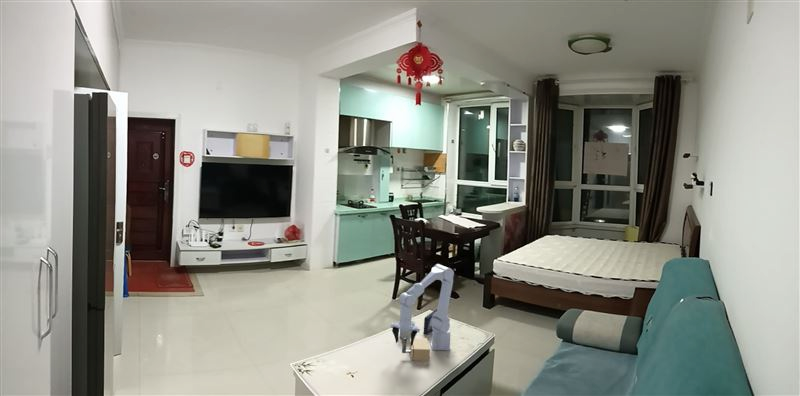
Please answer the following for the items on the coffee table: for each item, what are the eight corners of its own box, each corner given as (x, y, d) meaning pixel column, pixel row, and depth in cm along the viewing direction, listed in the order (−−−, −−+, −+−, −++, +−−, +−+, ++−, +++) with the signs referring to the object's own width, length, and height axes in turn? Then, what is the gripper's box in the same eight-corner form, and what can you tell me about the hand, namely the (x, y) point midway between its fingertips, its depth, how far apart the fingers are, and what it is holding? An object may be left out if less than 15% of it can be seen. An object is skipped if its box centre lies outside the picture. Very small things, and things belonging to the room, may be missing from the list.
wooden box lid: (410, 348, 208) (411, 330, 207) (412, 360, 196) (413, 341, 195) (400, 348, 207) (401, 330, 206) (402, 360, 196) (403, 341, 195)
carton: (426, 349, 209) (426, 338, 208) (429, 360, 197) (429, 349, 196) (411, 348, 208) (411, 338, 208) (413, 360, 196) (413, 349, 196)
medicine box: (414, 335, 224) (415, 321, 223) (413, 339, 219) (414, 324, 218) (400, 334, 225) (401, 319, 224) (399, 338, 220) (400, 323, 219)
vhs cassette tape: (427, 335, 226) (428, 318, 224) (422, 333, 227) (423, 316, 226) (441, 324, 241) (442, 308, 240) (437, 323, 242) (438, 307, 241)
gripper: (389, 317, 195) (388, 344, 196) (418, 322, 191) (416, 349, 192) (393, 312, 202) (392, 338, 203) (421, 317, 198) (419, 343, 199)
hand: (404, 343), depth 198 cm, fingers open, 7 cm apart
